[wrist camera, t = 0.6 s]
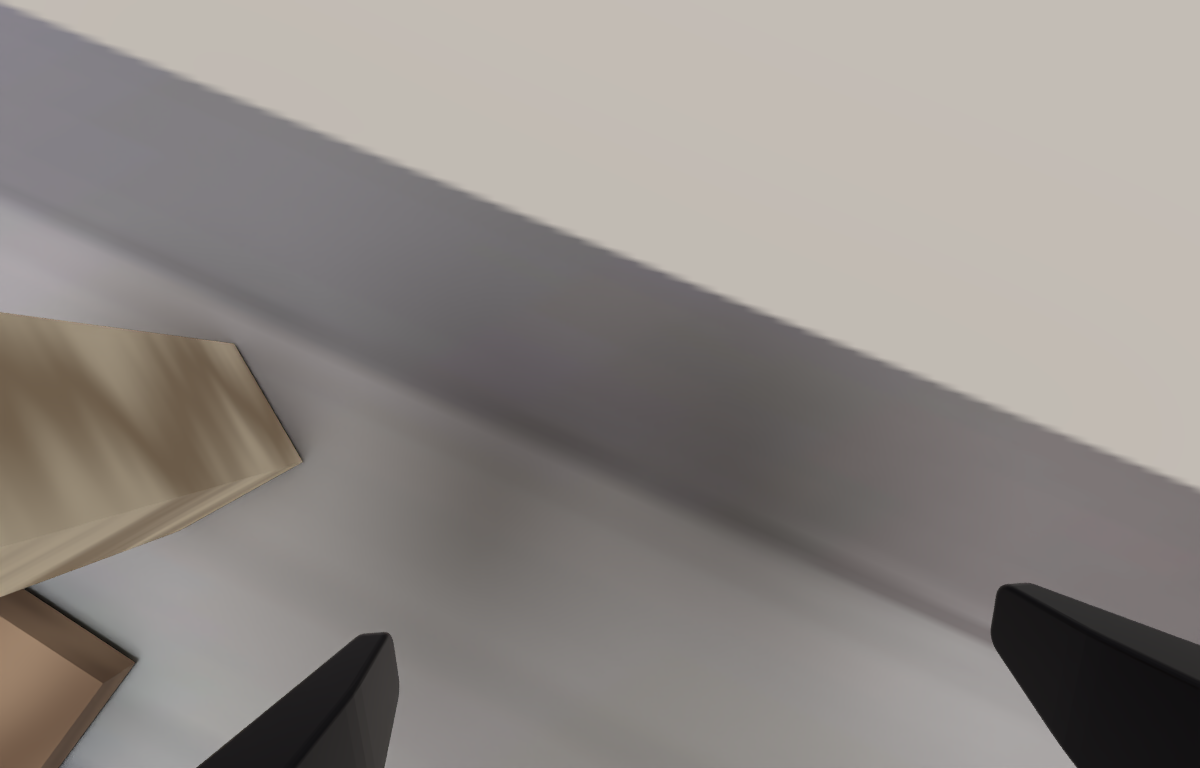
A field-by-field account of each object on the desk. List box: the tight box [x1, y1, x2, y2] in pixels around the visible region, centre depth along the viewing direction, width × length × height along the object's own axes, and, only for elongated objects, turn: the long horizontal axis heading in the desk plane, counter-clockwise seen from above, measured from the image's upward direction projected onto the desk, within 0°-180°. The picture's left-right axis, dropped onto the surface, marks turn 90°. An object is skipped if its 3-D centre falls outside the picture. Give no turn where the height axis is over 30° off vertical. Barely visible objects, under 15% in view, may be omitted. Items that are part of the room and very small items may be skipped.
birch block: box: [0, 312, 302, 597], centre depth 14 cm, size 5×5×14 cm
